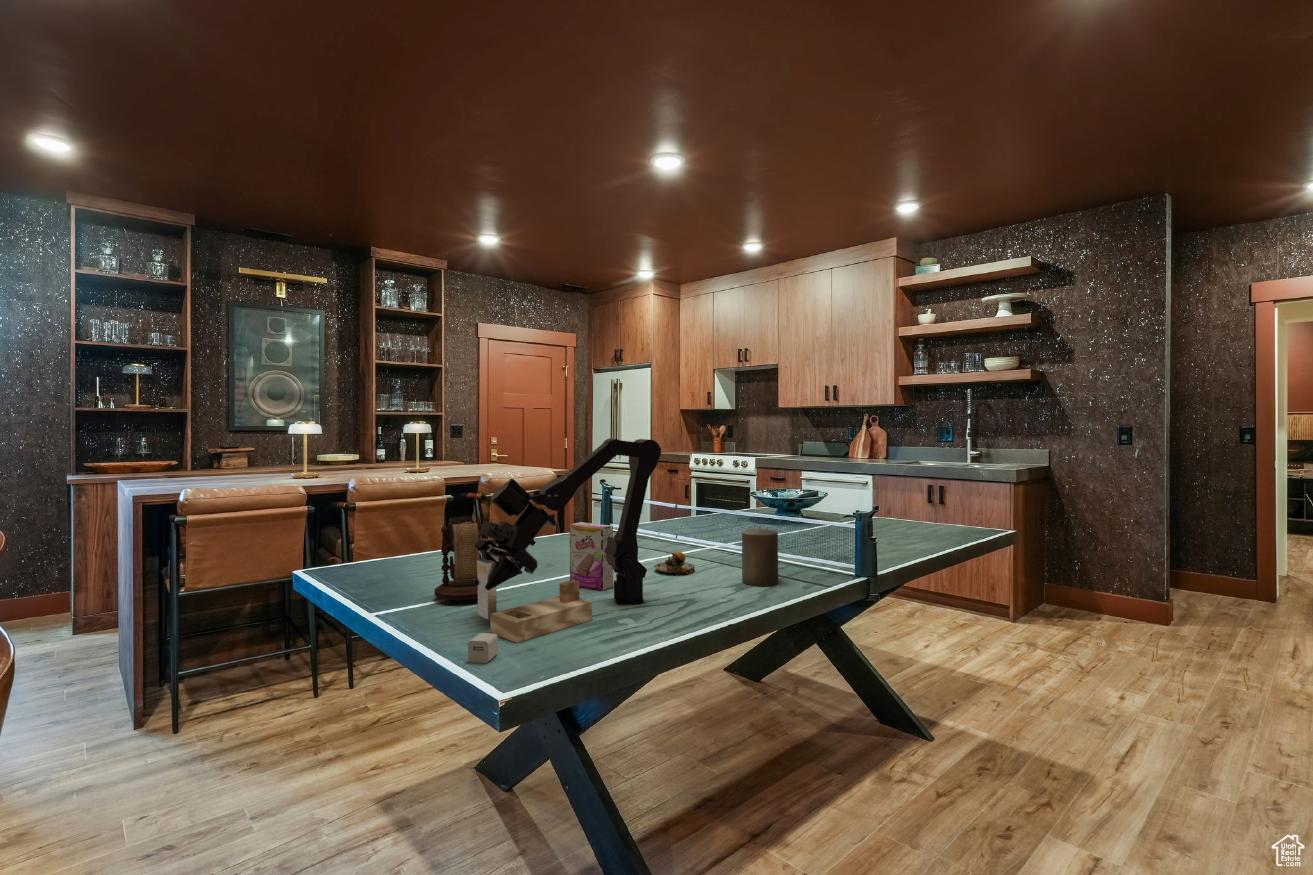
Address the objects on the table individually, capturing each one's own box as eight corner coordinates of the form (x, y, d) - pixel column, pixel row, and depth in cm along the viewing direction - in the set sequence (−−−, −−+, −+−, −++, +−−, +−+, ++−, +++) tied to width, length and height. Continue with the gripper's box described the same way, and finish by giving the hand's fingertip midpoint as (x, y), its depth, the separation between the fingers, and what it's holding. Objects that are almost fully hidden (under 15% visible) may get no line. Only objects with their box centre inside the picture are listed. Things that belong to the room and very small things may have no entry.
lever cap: (487, 612, 148) (486, 558, 148) (497, 617, 145) (496, 561, 144) (477, 615, 146) (476, 560, 146) (487, 619, 143) (486, 563, 143)
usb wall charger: (467, 662, 122) (467, 640, 122) (483, 649, 129) (483, 628, 129) (488, 663, 122) (488, 641, 122) (503, 650, 129) (503, 629, 128)
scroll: (438, 608, 157) (436, 523, 156) (431, 594, 170) (430, 515, 170) (501, 601, 163) (500, 519, 162) (490, 587, 176) (489, 511, 176)
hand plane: (565, 612, 153) (564, 577, 153) (592, 619, 147) (591, 583, 147) (490, 633, 139) (490, 594, 138) (517, 642, 133) (516, 602, 132)
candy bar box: (568, 586, 178) (568, 524, 177) (580, 582, 182) (580, 521, 181) (602, 591, 172) (602, 527, 171) (614, 587, 176) (613, 524, 175)
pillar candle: (781, 586, 176) (781, 529, 175) (743, 586, 176) (743, 529, 175) (775, 577, 185) (775, 523, 185) (739, 577, 185) (739, 523, 185)
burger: (654, 567, 200) (654, 542, 200) (694, 567, 200) (694, 542, 200) (653, 577, 188) (652, 550, 188) (695, 577, 188) (695, 550, 188)
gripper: (481, 503, 154) (436, 558, 147) (524, 511, 141) (476, 572, 133) (512, 533, 160) (470, 587, 153) (556, 543, 146) (512, 603, 139)
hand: (480, 586), depth 144 cm, fingers closed on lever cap, 4 cm apart
